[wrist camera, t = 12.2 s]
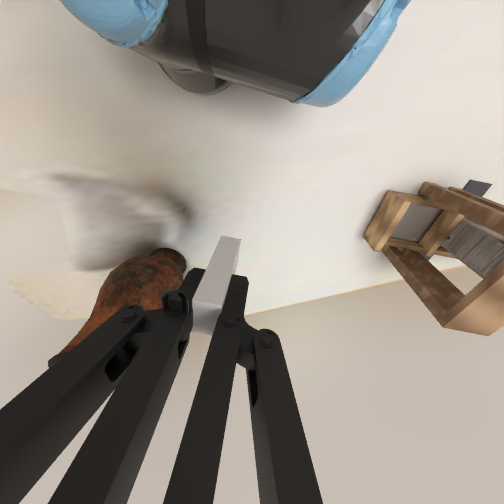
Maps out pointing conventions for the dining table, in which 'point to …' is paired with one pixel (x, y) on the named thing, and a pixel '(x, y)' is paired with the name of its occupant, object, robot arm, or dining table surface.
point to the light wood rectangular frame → (393, 213)
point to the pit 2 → (477, 187)
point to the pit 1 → (425, 256)
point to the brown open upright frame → (439, 287)
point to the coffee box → (476, 246)
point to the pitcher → (133, 289)
